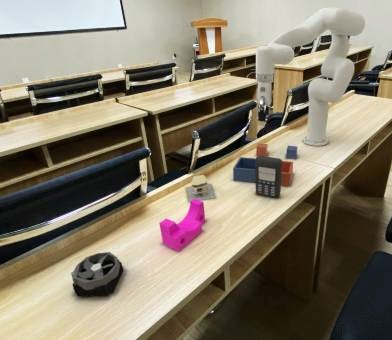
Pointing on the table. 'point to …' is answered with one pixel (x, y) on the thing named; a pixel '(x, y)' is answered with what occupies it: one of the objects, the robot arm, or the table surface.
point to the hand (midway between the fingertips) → (263, 117)
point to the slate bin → (244, 170)
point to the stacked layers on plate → (200, 189)
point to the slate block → (291, 152)
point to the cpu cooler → (97, 275)
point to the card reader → (268, 176)
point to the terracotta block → (261, 149)
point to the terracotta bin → (286, 173)
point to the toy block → (183, 227)
